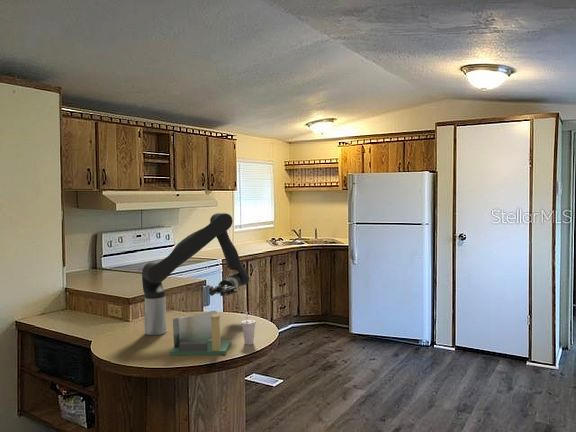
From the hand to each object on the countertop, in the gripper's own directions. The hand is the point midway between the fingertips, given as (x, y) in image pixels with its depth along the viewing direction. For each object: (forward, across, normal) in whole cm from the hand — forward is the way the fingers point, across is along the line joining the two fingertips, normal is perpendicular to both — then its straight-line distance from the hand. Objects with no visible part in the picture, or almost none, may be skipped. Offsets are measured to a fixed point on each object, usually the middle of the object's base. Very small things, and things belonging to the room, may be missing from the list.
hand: (216, 293), depth 222 cm
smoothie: (+6, +17, +20) cm, 27 cm away
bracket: (+17, -1, +20) cm, 26 cm away
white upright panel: (+15, -4, +18) cm, 24 cm away
